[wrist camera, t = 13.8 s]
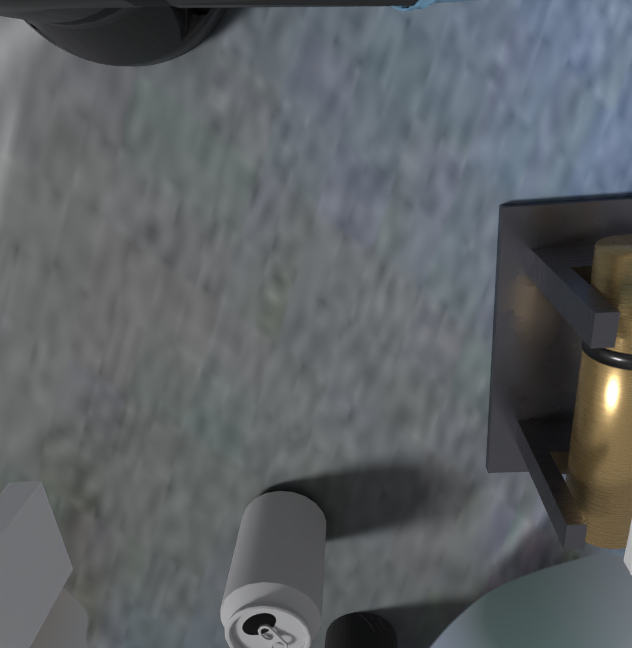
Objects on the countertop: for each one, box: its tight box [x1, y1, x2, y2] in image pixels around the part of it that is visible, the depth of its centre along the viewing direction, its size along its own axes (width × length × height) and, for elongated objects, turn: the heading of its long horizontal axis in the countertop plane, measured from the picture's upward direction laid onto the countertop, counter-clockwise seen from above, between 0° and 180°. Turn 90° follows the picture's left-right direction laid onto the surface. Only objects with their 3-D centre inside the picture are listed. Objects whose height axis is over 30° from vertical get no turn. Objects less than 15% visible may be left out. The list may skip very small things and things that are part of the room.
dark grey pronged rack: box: [486, 196, 632, 550], centre depth 36 cm, size 22×13×12 cm, turn 5°
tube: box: [566, 234, 632, 549], centre depth 35 cm, size 20×5×5 cm, turn 5°
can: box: [221, 491, 326, 648], centre depth 45 cm, size 8×8×12 cm
